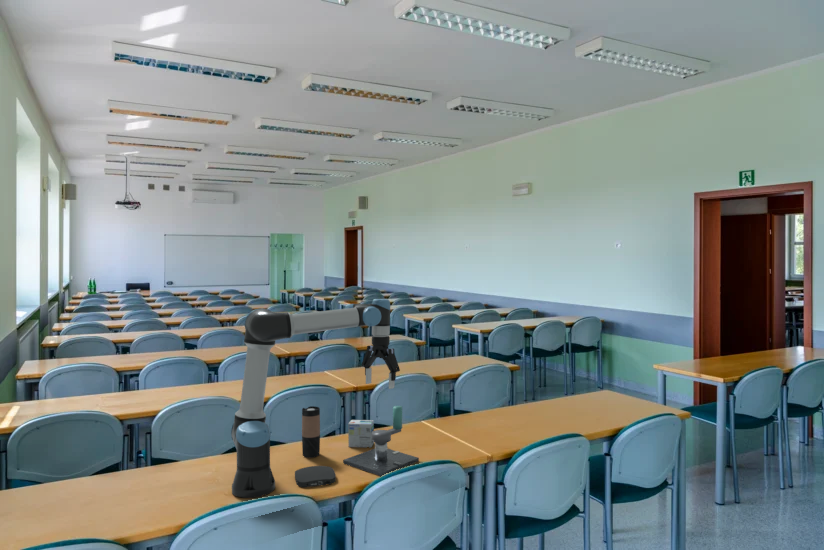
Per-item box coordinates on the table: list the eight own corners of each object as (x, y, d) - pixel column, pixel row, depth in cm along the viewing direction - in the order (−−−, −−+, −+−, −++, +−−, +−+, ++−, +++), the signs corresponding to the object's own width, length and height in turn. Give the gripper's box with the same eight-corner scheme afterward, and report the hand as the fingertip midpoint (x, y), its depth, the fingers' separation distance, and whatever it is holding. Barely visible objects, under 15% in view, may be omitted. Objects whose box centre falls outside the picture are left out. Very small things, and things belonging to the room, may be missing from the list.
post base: (382, 476, 215) (381, 453, 214) (343, 463, 229) (343, 441, 229) (418, 461, 231) (418, 439, 231) (380, 449, 246) (380, 429, 245)
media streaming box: (331, 470, 222) (330, 463, 222) (337, 484, 208) (337, 476, 208) (293, 475, 217) (293, 467, 217) (297, 489, 204) (297, 481, 203)
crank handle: (407, 435, 236) (407, 407, 236) (381, 444, 224) (381, 415, 224) (394, 431, 242) (393, 404, 241) (367, 440, 230) (367, 411, 229)
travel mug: (318, 458, 235) (318, 410, 235) (300, 458, 235) (300, 410, 235) (321, 452, 243) (321, 406, 242) (304, 451, 243) (303, 406, 243)
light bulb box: (374, 443, 255) (374, 419, 255) (371, 448, 248) (371, 423, 248) (351, 442, 256) (351, 419, 256) (348, 447, 249) (347, 423, 249)
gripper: (408, 337, 230) (407, 389, 231) (366, 332, 247) (365, 380, 247) (396, 339, 225) (395, 391, 225) (353, 333, 241) (353, 382, 241)
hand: (379, 385), depth 236 cm, fingers open, 13 cm apart
